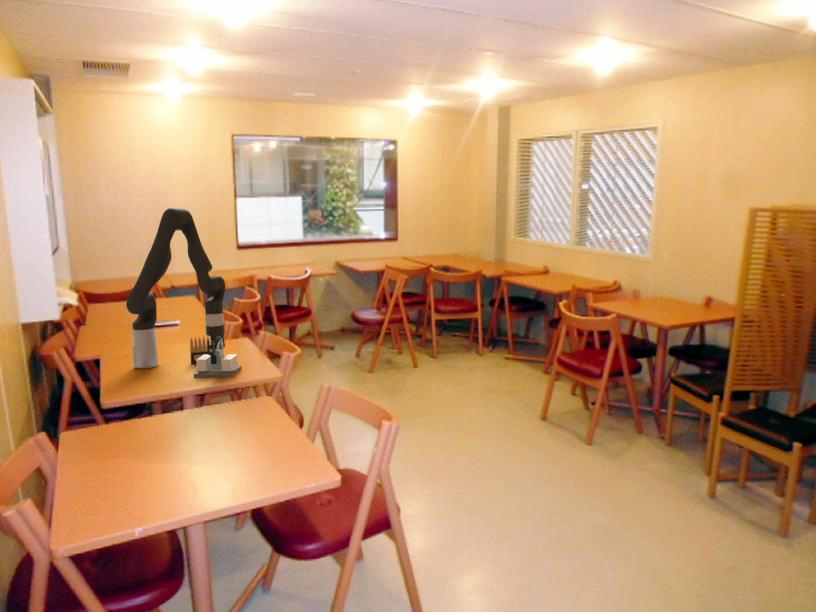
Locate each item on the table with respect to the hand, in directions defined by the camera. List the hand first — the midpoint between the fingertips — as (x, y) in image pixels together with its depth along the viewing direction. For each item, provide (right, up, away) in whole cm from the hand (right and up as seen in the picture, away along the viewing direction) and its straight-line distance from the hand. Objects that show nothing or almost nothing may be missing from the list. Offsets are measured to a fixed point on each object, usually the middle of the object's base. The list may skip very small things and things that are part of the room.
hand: (217, 361), depth 255 cm
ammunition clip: (-12, -3, +19) cm, 23 cm away
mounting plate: (0, -5, +1) cm, 5 cm away
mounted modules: (0, -3, +1) cm, 3 cm away
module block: (0, -3, +1) cm, 3 cm away
